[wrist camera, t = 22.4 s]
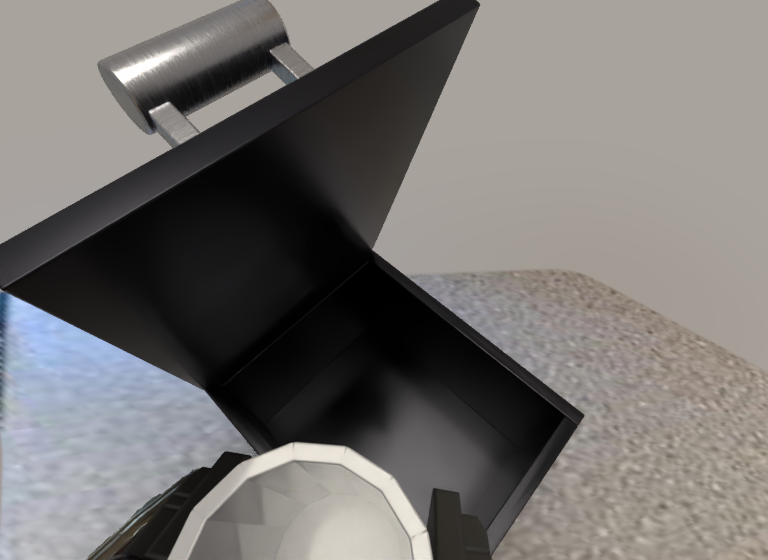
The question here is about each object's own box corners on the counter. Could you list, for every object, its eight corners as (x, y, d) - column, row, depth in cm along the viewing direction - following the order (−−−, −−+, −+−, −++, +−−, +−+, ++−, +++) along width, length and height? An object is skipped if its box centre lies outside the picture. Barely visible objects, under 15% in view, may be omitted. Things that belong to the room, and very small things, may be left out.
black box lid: (481, 3, 12) (355, -107, 13) (1, 290, 7) (-176, 80, 7) (373, 247, 28) (319, 193, 29) (203, 390, 23) (142, 320, 23)
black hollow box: (528, 448, 31) (585, 415, 23) (411, 614, 26) (425, 655, 17) (372, 314, 37) (369, 247, 29) (251, 428, 32) (202, 387, 23)
